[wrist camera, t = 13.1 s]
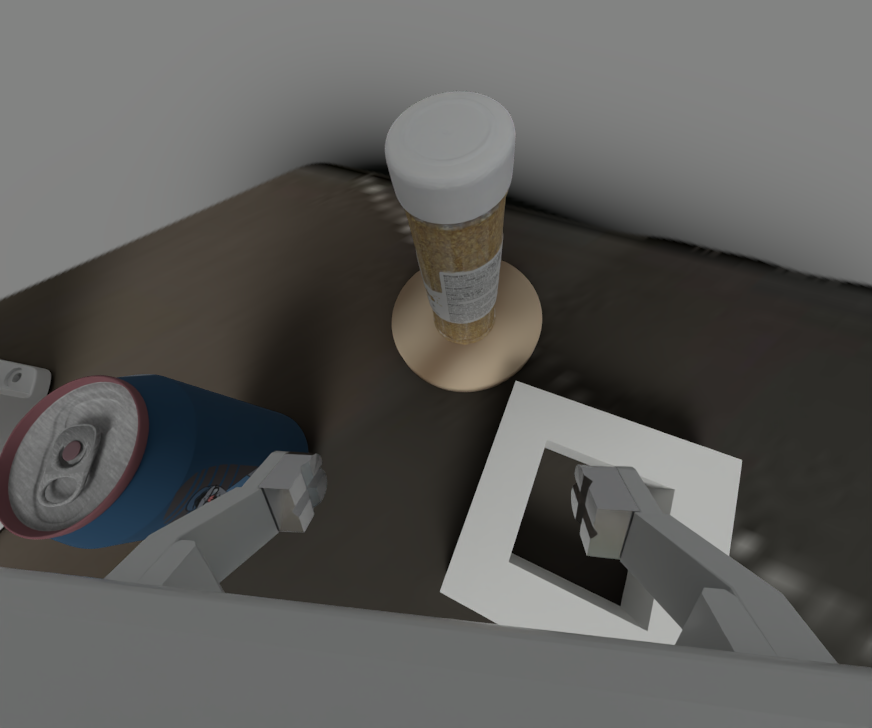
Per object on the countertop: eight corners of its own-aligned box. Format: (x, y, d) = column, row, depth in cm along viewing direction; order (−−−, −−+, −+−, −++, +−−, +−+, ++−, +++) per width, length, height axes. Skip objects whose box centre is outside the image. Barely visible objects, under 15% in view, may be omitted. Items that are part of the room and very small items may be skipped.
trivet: (372, 362, 24) (367, 356, 23) (428, 249, 27) (426, 239, 26) (511, 415, 21) (513, 411, 20) (557, 283, 24) (561, 274, 23)
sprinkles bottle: (431, 297, 24) (377, 100, 11) (490, 286, 24) (502, 71, 11) (438, 352, 22) (385, 193, 10) (502, 342, 22) (532, 162, 9)
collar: (445, 574, 19) (439, 591, 16) (511, 392, 22) (515, 380, 19) (664, 691, 16) (703, 738, 13) (703, 462, 19) (742, 460, 16)
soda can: (235, 418, 24) (22, 367, 13) (321, 412, 23) (175, 352, 12) (217, 518, 22) (-62, 563, 10) (313, 514, 21) (122, 559, 10)
